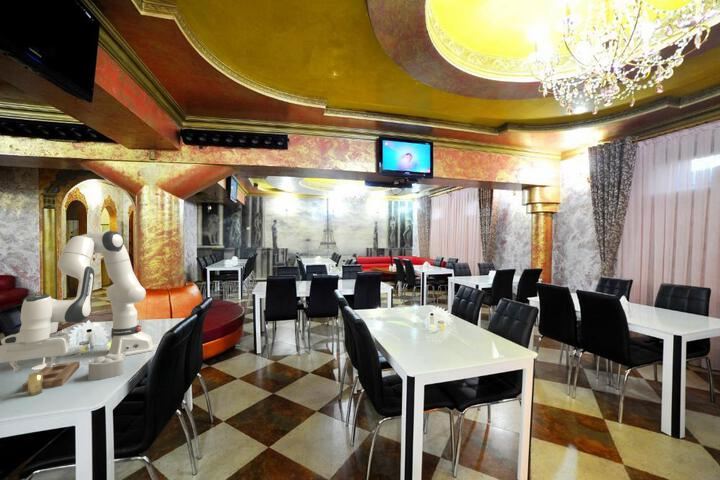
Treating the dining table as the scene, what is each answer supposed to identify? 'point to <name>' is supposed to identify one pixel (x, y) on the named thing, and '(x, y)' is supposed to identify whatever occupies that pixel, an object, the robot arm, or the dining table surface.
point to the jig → (56, 375)
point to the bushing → (35, 383)
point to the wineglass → (53, 330)
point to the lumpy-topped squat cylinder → (106, 367)
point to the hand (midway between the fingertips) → (33, 369)
